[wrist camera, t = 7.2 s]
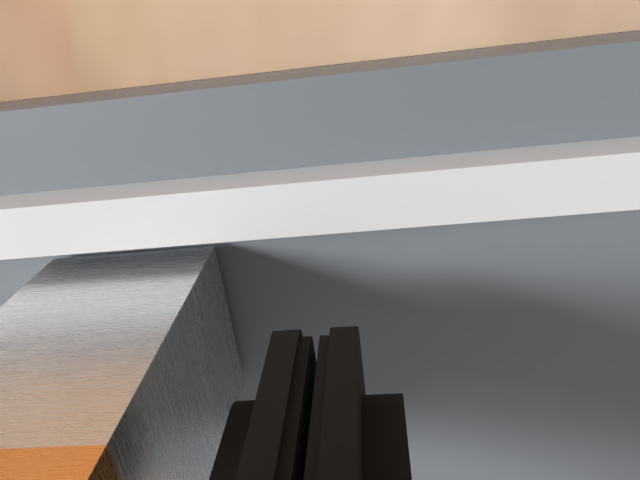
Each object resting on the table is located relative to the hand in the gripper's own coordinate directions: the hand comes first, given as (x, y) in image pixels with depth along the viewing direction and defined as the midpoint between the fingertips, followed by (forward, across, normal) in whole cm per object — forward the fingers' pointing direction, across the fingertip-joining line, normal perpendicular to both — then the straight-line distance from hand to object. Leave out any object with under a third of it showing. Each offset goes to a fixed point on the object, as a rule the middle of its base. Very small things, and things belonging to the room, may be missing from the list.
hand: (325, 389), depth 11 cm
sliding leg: (+3, +5, 0) cm, 5 cm away
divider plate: (+5, +6, 0) cm, 8 cm away
